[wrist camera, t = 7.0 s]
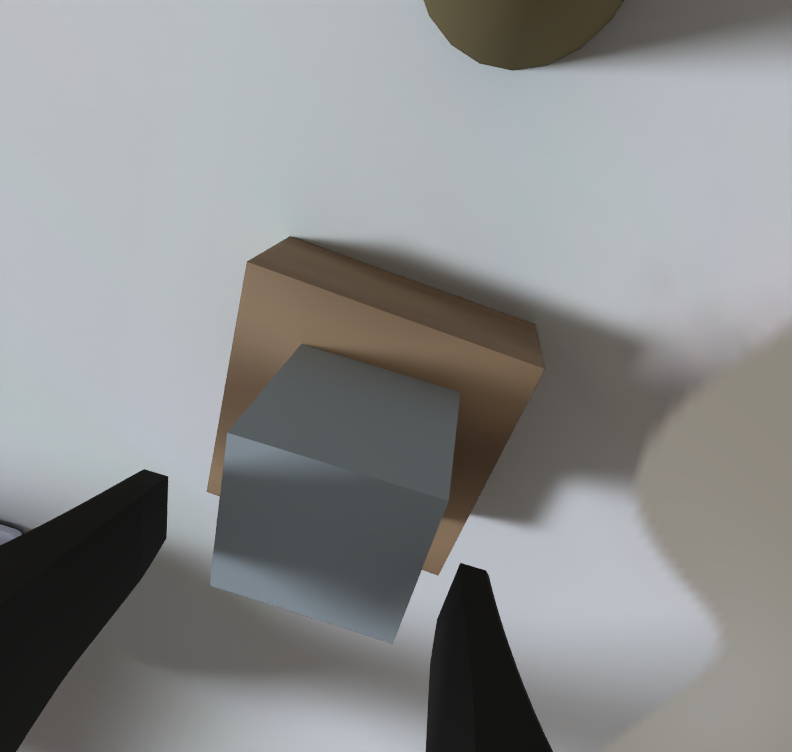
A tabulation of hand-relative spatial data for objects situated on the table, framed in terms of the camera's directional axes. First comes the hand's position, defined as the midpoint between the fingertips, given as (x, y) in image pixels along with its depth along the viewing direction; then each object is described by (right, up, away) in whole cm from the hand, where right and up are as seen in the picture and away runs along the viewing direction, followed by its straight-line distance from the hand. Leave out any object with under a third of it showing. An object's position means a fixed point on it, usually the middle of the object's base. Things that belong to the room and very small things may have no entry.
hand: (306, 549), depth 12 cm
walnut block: (+1, +4, +8) cm, 9 cm away
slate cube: (+1, +2, +4) cm, 5 cm away
